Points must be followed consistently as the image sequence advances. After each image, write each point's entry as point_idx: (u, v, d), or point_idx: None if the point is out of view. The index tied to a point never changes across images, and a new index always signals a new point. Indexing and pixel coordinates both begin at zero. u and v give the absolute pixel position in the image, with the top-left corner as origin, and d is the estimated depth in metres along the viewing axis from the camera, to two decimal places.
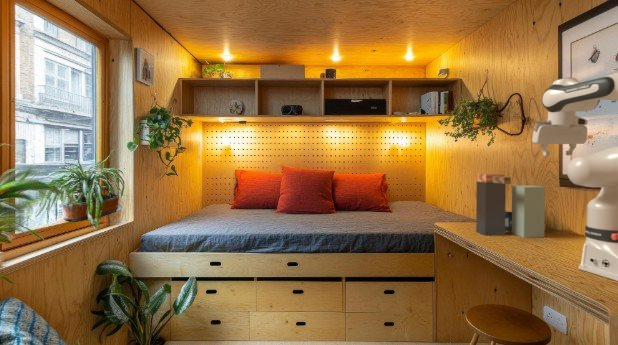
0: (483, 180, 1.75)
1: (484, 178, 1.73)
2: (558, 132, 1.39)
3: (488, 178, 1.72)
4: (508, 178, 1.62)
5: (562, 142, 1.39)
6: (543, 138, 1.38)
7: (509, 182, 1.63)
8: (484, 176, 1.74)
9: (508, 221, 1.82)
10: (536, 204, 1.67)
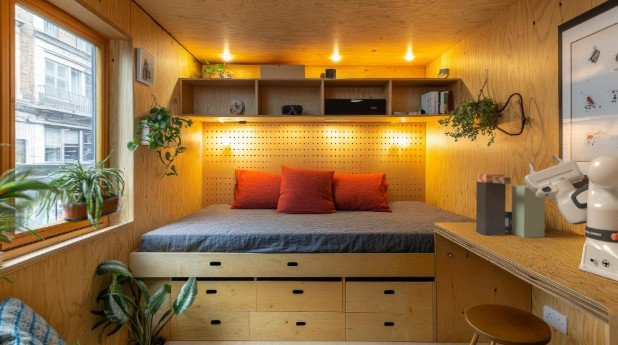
0: (483, 180, 1.75)
1: (484, 178, 1.73)
2: (558, 175, 1.47)
3: (488, 178, 1.72)
4: (508, 178, 1.62)
5: (549, 168, 1.49)
6: (571, 165, 1.47)
7: (509, 182, 1.63)
8: (484, 176, 1.74)
9: (508, 221, 1.82)
10: (536, 204, 1.67)
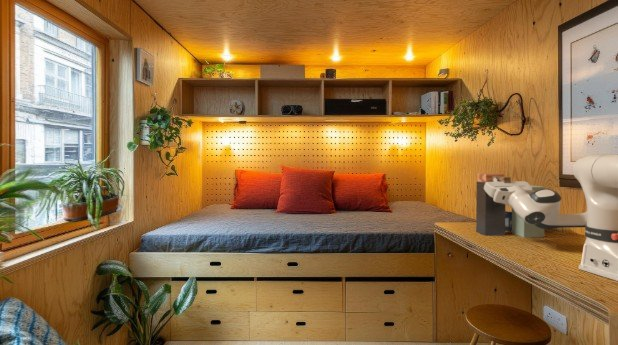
0: (483, 180, 1.75)
1: (484, 178, 1.73)
2: None
3: (488, 178, 1.72)
4: (508, 178, 1.62)
5: None
6: (524, 183, 1.62)
7: (509, 182, 1.63)
8: (484, 176, 1.74)
9: (508, 221, 1.82)
10: None
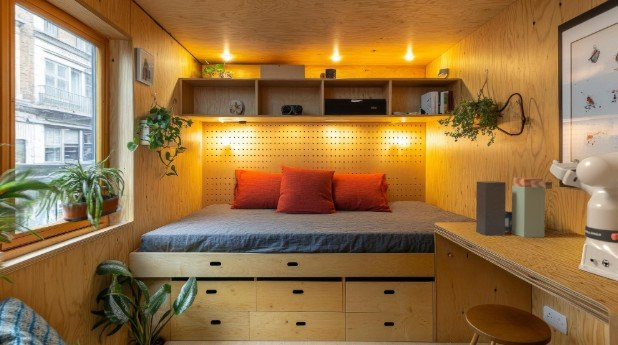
0: (521, 184, 1.70)
1: (522, 182, 1.69)
2: None
3: (526, 183, 1.67)
4: (549, 183, 1.58)
5: (574, 163, 1.50)
6: None
7: (550, 187, 1.58)
8: (522, 180, 1.69)
9: (508, 221, 1.82)
10: (536, 204, 1.67)
